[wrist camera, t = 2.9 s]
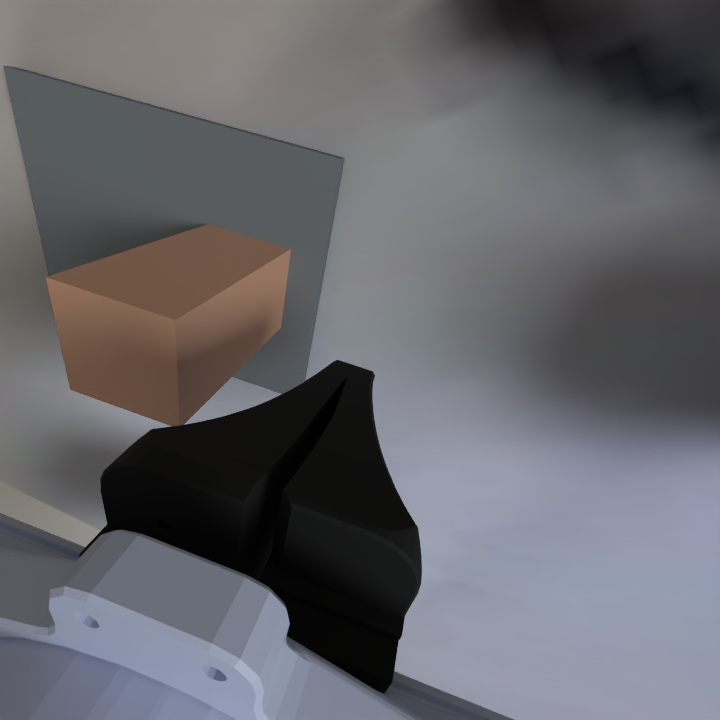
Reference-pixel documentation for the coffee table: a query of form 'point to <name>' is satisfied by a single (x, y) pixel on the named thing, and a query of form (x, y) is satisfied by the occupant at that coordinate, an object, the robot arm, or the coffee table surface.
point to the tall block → (169, 319)
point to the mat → (175, 194)
